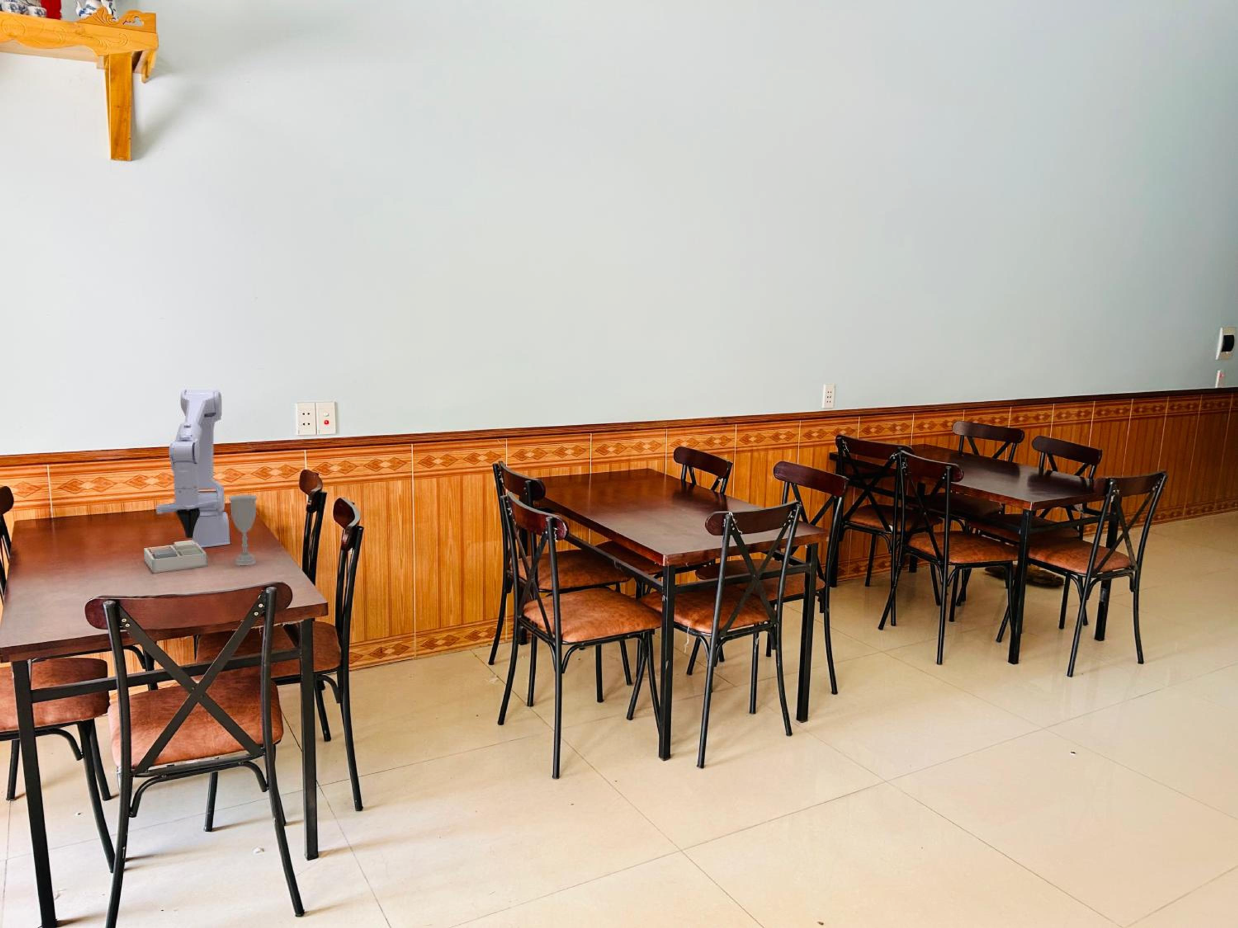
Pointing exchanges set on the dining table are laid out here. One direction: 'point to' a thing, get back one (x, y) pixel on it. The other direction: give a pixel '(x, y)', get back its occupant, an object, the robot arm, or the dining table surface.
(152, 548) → the key terracotta
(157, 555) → the key slate
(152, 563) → the keypad
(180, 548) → the key ivory
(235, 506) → the chalice
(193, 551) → the key sage
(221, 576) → the dining table surface
